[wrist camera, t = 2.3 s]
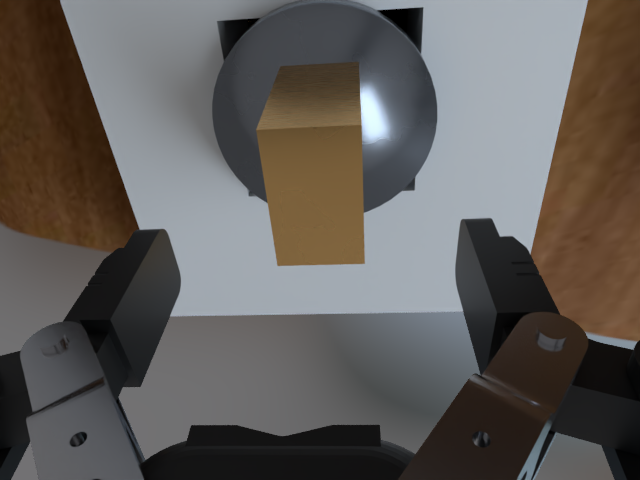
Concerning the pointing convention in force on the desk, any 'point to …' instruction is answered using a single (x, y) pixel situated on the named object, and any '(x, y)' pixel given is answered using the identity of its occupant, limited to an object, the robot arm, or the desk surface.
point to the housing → (379, 224)
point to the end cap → (324, 122)
